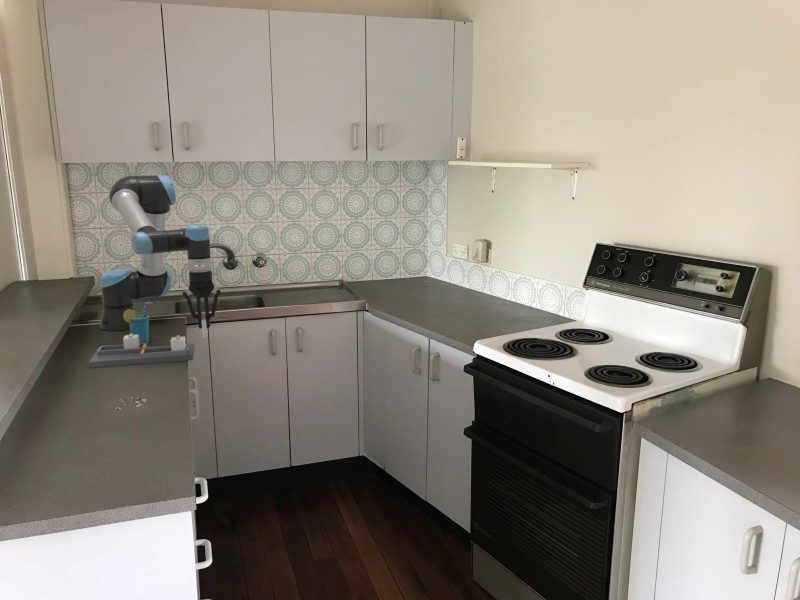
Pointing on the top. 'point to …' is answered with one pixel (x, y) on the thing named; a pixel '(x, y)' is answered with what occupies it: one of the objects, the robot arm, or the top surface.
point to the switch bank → (138, 355)
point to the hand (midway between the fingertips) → (205, 337)
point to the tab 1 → (131, 341)
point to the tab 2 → (178, 343)
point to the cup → (138, 323)
